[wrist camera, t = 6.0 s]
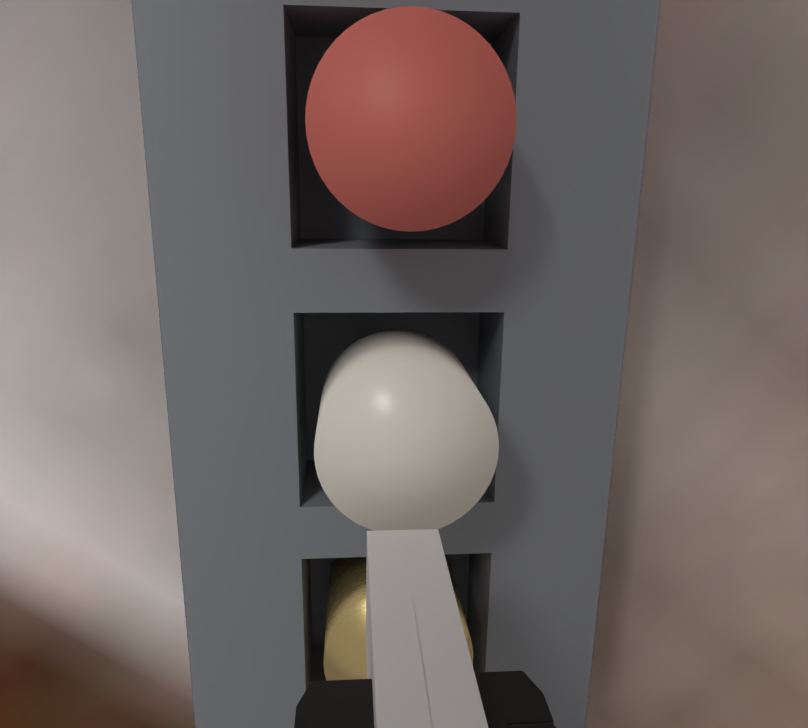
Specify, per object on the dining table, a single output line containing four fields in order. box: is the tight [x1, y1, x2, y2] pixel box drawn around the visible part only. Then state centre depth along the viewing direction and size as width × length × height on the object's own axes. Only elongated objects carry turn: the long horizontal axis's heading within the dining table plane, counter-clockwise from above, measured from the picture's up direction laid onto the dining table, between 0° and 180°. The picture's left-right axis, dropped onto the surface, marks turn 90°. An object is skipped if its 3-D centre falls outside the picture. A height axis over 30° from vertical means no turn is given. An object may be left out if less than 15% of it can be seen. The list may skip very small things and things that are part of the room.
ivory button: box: [314, 329, 499, 531], centre depth 16 cm, size 4×4×4 cm
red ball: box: [305, 6, 516, 232], centre depth 15 cm, size 4×4×4 cm
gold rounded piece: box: [323, 555, 473, 681], centre depth 20 cm, size 4×4×4 cm
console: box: [132, 0, 661, 728], centre depth 19 cm, size 12×22×4 cm, turn 179°
